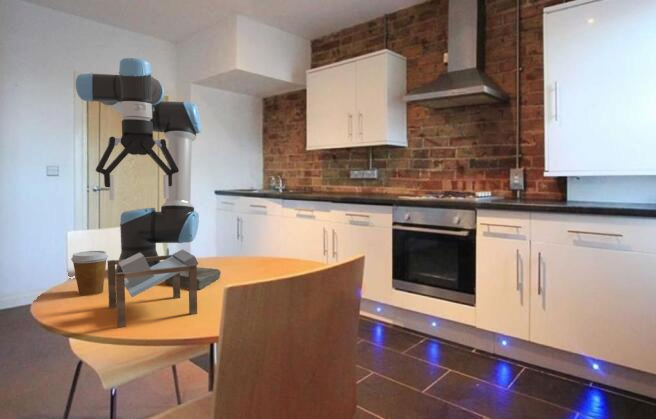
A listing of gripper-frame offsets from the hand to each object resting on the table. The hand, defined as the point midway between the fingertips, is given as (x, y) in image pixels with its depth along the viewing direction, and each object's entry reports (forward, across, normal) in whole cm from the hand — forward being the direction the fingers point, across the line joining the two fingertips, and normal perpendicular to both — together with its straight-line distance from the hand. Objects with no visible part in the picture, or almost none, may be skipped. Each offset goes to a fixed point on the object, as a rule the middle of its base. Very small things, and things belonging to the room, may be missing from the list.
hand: (140, 199), depth 110 cm
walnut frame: (+29, 0, -9) cm, 30 cm away
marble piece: (+30, +18, +14) cm, 38 cm away
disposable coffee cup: (+29, -11, +18) cm, 36 cm away
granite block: (+20, -2, -9) cm, 22 cm away
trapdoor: (+20, +3, -9) cm, 22 cm away
